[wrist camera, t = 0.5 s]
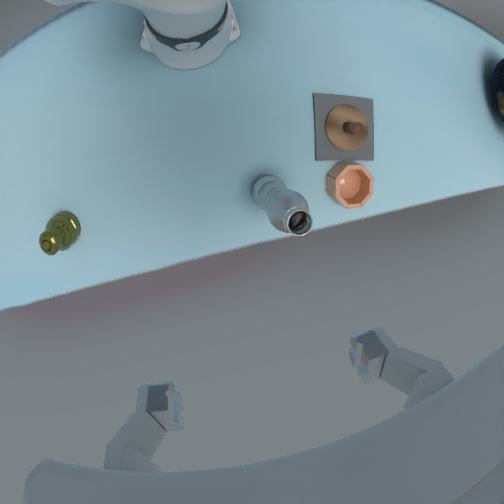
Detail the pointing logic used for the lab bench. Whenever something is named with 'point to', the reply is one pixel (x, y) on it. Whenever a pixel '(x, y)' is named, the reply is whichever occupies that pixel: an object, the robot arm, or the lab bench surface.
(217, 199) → the lab bench surface
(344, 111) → the lid
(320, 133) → the mat
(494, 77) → the globe
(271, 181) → the plastic bottle
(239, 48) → the lab bench surface
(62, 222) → the gold chess piece
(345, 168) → the bowl
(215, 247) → the lab bench surface
